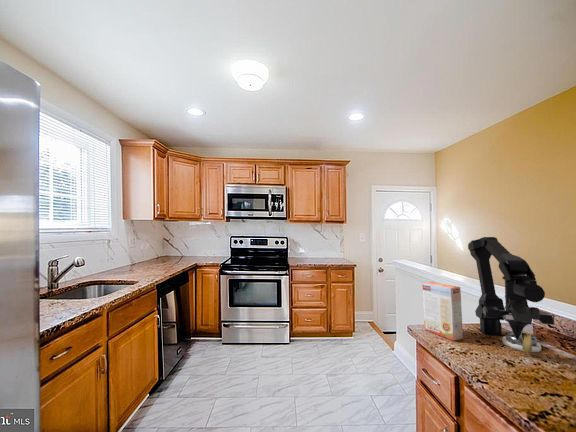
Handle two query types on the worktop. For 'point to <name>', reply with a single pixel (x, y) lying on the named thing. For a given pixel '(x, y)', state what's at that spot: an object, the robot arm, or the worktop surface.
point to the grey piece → (522, 340)
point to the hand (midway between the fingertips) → (517, 339)
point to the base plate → (519, 347)
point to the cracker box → (442, 310)
